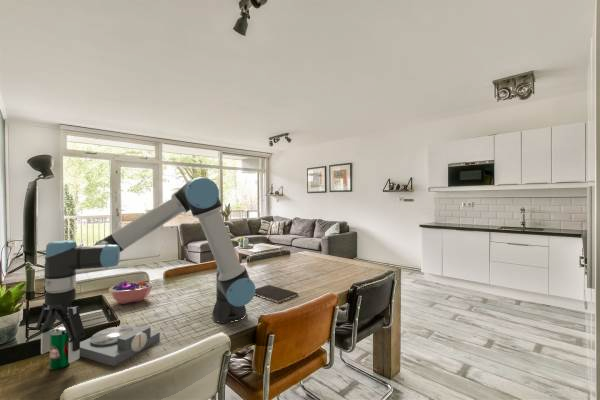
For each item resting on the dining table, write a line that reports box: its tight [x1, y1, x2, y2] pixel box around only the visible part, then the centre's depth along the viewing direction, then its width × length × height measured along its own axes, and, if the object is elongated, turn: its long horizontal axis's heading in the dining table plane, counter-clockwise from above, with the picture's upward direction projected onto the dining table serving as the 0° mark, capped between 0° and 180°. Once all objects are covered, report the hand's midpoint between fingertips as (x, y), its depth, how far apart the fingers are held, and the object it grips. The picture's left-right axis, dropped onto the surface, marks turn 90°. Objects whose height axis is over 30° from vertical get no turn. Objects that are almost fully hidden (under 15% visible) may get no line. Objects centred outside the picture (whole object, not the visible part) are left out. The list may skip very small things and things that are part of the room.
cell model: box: [108, 280, 153, 305], centre depth 146 cm, size 17×20×11 cm
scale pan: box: [90, 325, 133, 346], centre depth 103 cm, size 13×13×1 cm
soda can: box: [49, 325, 70, 371], centre depth 90 cm, size 5×5×12 cm
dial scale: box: [79, 323, 161, 367], centre depth 102 cm, size 21×18×7 cm
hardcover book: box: [255, 284, 299, 303], centre depth 159 cm, size 16×23×2 cm
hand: (59, 356), depth 90 cm, fingers open, 13 cm apart
